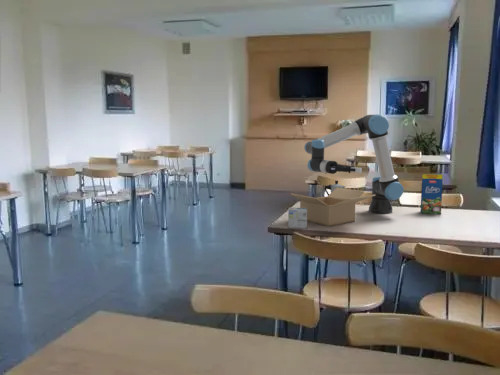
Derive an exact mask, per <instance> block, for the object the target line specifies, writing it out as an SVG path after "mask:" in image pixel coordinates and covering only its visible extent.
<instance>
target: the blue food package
mask: <svg viewBox="0 0 500 375" xmlns="http://www.w3.org/2000/svg"><path fill="white" fill-rule="evenodd" d="M421 180H422V181H421V193H420V194H421V196H420V213H421V214H430V215H431V214H432V215H442V204H443V203H442V200H443V174H427V173H426V174H424V173H423V174H422V178H421Z"/></svg>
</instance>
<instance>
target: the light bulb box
mask: <svg viewBox="0 0 500 375" xmlns="http://www.w3.org/2000/svg"><path fill="white" fill-rule="evenodd" d="M287 213H288V214H287V215H288V218H287V220H288V221H287V222H288V223H287V224H288V229H307V228H308V221H307V208H300V207H288V211H287Z"/></svg>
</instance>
